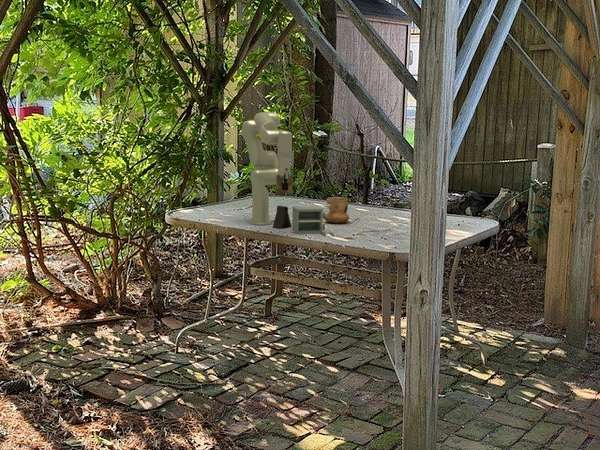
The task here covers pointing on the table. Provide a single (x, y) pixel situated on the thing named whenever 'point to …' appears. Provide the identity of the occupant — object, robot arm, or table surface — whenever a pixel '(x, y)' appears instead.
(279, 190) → the tan rectangular block
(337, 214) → the ceramic jug
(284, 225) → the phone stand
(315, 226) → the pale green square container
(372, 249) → the table surface
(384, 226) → the table surface
